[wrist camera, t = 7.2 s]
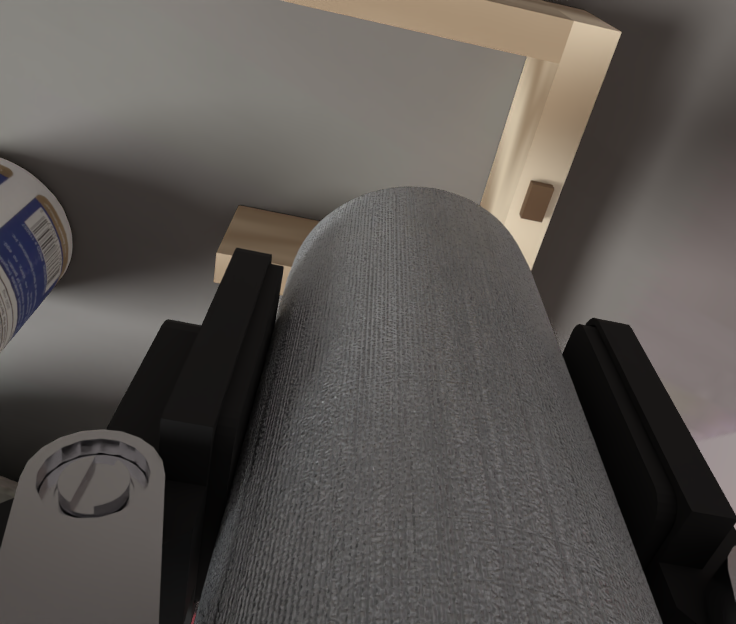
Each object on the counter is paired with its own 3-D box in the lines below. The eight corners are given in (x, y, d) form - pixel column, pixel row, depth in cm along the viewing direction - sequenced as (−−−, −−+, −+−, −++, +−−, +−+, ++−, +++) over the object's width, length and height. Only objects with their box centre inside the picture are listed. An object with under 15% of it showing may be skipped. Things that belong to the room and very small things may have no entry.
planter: (286, 384, 14) (107, 1217, 5) (288, 172, 12) (-34, 1044, 3) (506, 401, 14) (703, 1254, 5) (553, 193, 12) (1058, 1112, 3)
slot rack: (269, -64, 18) (245, -55, 15) (585, 10, 19) (625, 34, 16) (214, 410, 27) (192, 479, 24) (433, 447, 28) (439, 520, 25)
